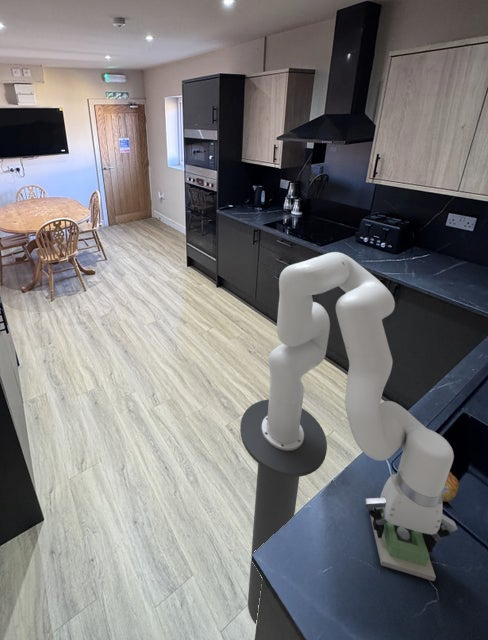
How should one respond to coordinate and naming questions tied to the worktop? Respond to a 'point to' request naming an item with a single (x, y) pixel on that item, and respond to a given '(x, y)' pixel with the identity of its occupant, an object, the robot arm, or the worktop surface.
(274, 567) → the worktop surface
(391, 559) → the base pad
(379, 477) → the worktop surface
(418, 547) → the green hollow square block
